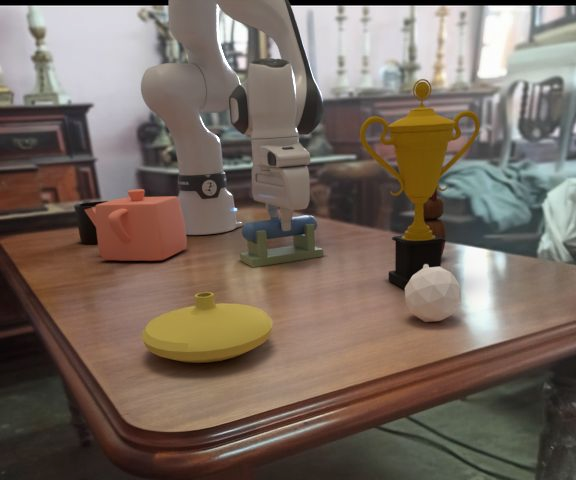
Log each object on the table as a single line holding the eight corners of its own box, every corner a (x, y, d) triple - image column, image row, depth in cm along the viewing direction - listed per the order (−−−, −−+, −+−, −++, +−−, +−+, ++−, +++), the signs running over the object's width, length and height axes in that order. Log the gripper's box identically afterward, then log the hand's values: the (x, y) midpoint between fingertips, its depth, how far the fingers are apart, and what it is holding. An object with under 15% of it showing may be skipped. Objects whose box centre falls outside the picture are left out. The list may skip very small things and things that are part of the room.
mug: (133, 239, 145) (127, 202, 142) (83, 246, 141) (76, 207, 138) (126, 234, 153) (121, 198, 150) (79, 240, 149) (72, 203, 146)
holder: (240, 260, 117) (237, 227, 115) (308, 250, 122) (306, 218, 120) (252, 267, 111) (249, 233, 109) (323, 256, 116) (322, 223, 114)
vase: (180, 389, 62) (172, 326, 59) (124, 349, 74) (115, 295, 71) (300, 350, 70) (297, 293, 67) (232, 320, 82) (228, 271, 79)
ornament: (399, 327, 75) (387, 270, 78) (432, 332, 80) (420, 278, 83) (445, 308, 71) (431, 247, 73) (477, 315, 76) (463, 258, 78)
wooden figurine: (445, 263, 105) (449, 177, 100) (412, 264, 106) (414, 178, 101) (443, 255, 111) (447, 173, 106) (412, 255, 113) (414, 174, 107)
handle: (246, 244, 111) (245, 224, 109) (240, 241, 114) (238, 222, 113) (320, 233, 116) (319, 215, 115) (312, 231, 119) (311, 213, 118)
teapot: (198, 245, 134) (191, 182, 129) (152, 269, 114) (142, 196, 109) (121, 245, 139) (111, 185, 134) (65, 268, 120) (51, 198, 114)
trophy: (455, 269, 101) (464, 78, 90) (486, 282, 92) (501, 73, 81) (350, 282, 97) (347, 84, 86) (373, 298, 88) (373, 79, 77)
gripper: (241, 154, 117) (247, 223, 122) (281, 157, 100) (286, 238, 105) (270, 151, 119) (274, 220, 125) (314, 154, 102) (317, 234, 107)
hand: (280, 228), depth 114 cm, fingers closed on handle, 3 cm apart
